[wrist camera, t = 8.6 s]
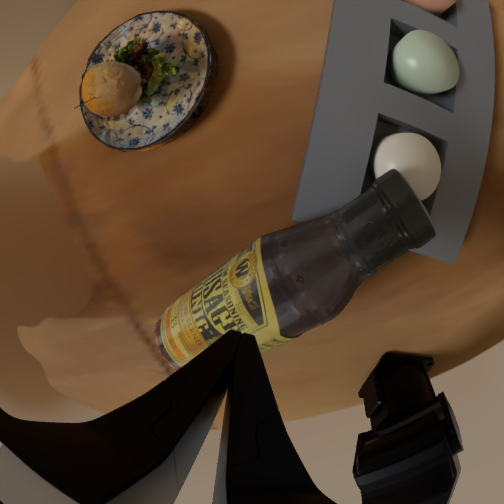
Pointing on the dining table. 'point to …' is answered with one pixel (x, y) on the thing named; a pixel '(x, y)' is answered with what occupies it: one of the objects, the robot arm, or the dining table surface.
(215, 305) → the sauce bottle
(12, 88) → the dining table surface
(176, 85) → the burger
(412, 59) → the sage button
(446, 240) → the panel
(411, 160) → the cream button
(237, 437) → the robot arm
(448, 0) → the terracotta button
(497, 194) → the dining table surface
